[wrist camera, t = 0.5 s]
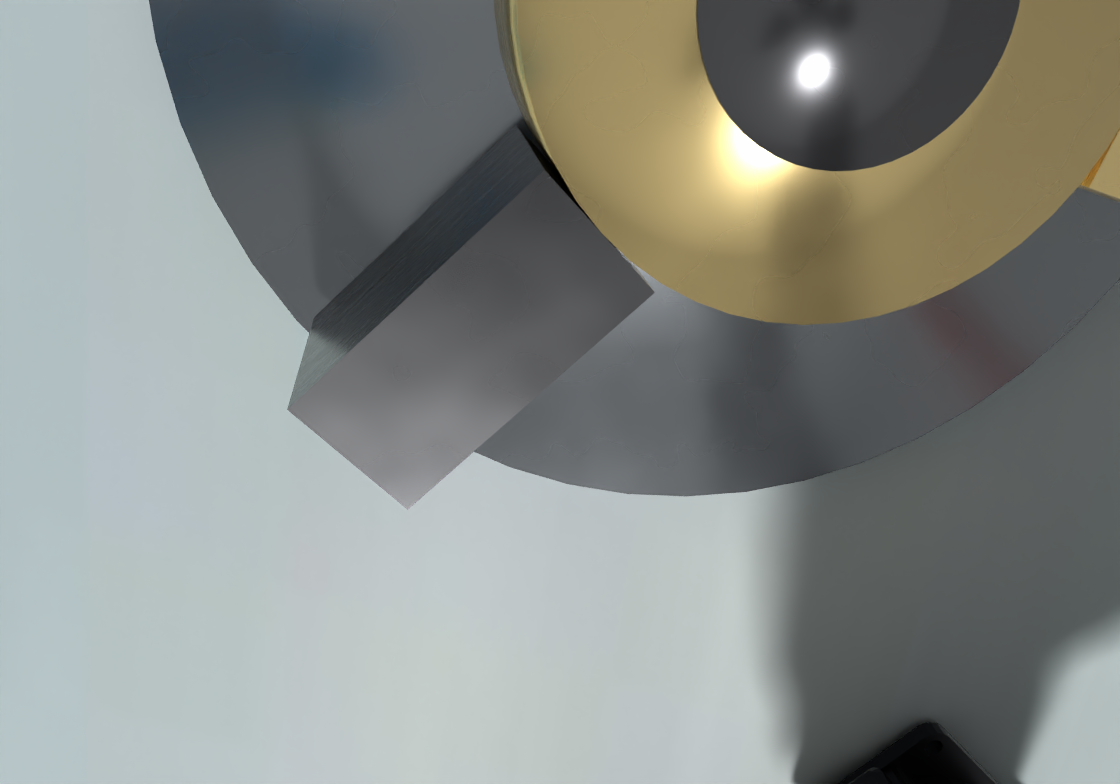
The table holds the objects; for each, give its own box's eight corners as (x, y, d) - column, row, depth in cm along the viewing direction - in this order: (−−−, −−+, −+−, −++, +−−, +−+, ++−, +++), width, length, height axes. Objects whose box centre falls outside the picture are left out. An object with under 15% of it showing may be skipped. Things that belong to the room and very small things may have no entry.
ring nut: (1254, 145, 18) (1464, 190, 15) (655, 621, 21) (706, 760, 17) (713, -938, 12) (851, -1359, 8) (-70, -27, 14) (-240, -24, 11)
